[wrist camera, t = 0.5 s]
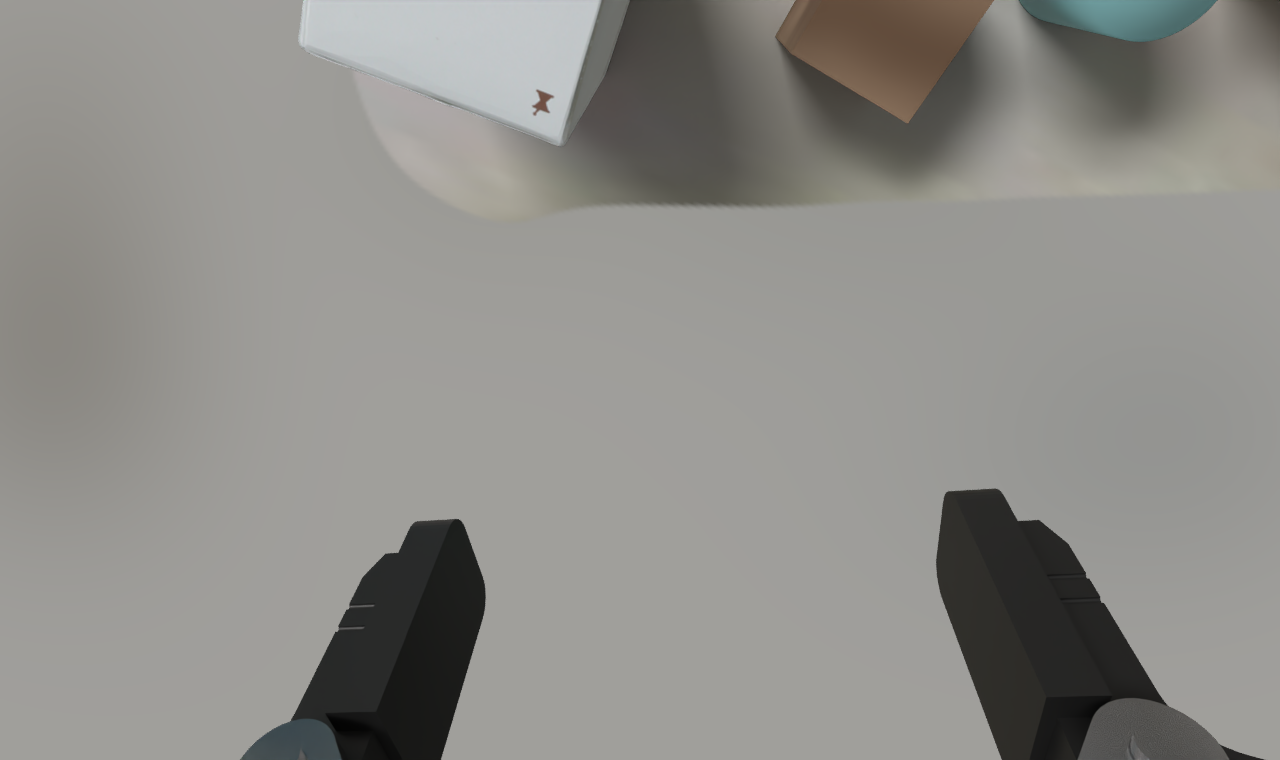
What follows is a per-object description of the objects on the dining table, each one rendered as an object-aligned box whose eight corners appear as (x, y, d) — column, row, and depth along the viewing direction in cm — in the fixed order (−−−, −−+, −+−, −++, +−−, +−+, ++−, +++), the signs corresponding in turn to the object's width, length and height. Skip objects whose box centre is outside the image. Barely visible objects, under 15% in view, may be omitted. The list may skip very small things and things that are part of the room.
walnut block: (849, -95, 27) (880, -101, 22) (955, -24, 28) (1005, -17, 24) (775, 36, 29) (790, 53, 25) (876, 97, 30) (907, 123, 26)
